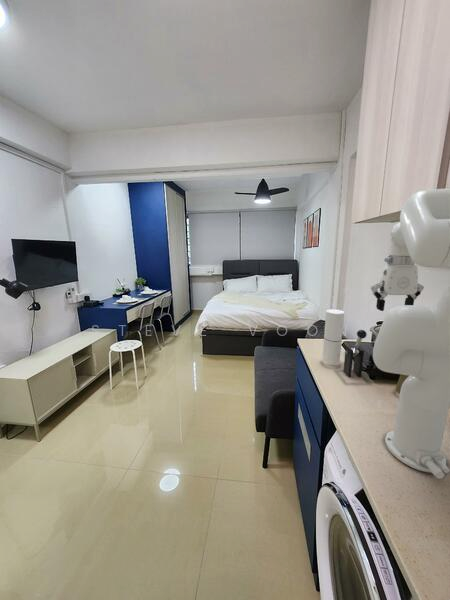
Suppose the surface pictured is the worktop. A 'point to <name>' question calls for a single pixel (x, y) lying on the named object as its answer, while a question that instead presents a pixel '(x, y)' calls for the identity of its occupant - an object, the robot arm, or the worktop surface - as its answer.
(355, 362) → the bracket
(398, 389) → the cork
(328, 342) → the cylindrical container
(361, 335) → the lever
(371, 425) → the worktop surface
